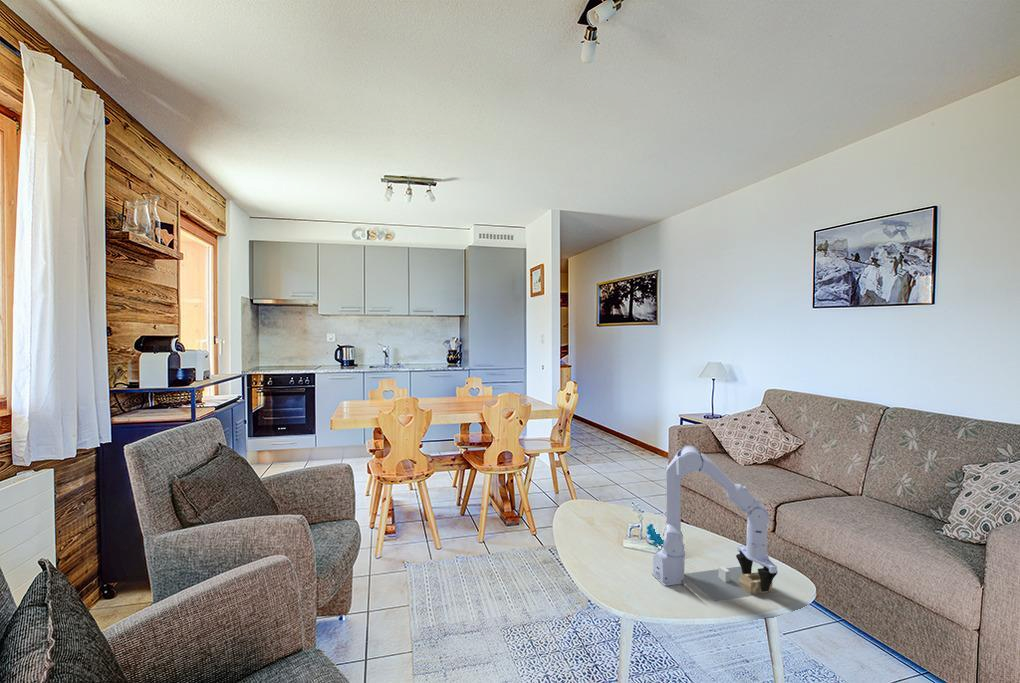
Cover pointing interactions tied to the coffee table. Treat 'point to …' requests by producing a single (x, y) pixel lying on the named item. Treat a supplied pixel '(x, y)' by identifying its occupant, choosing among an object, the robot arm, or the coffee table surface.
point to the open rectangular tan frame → (752, 583)
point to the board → (720, 583)
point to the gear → (654, 535)
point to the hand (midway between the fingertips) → (755, 584)
